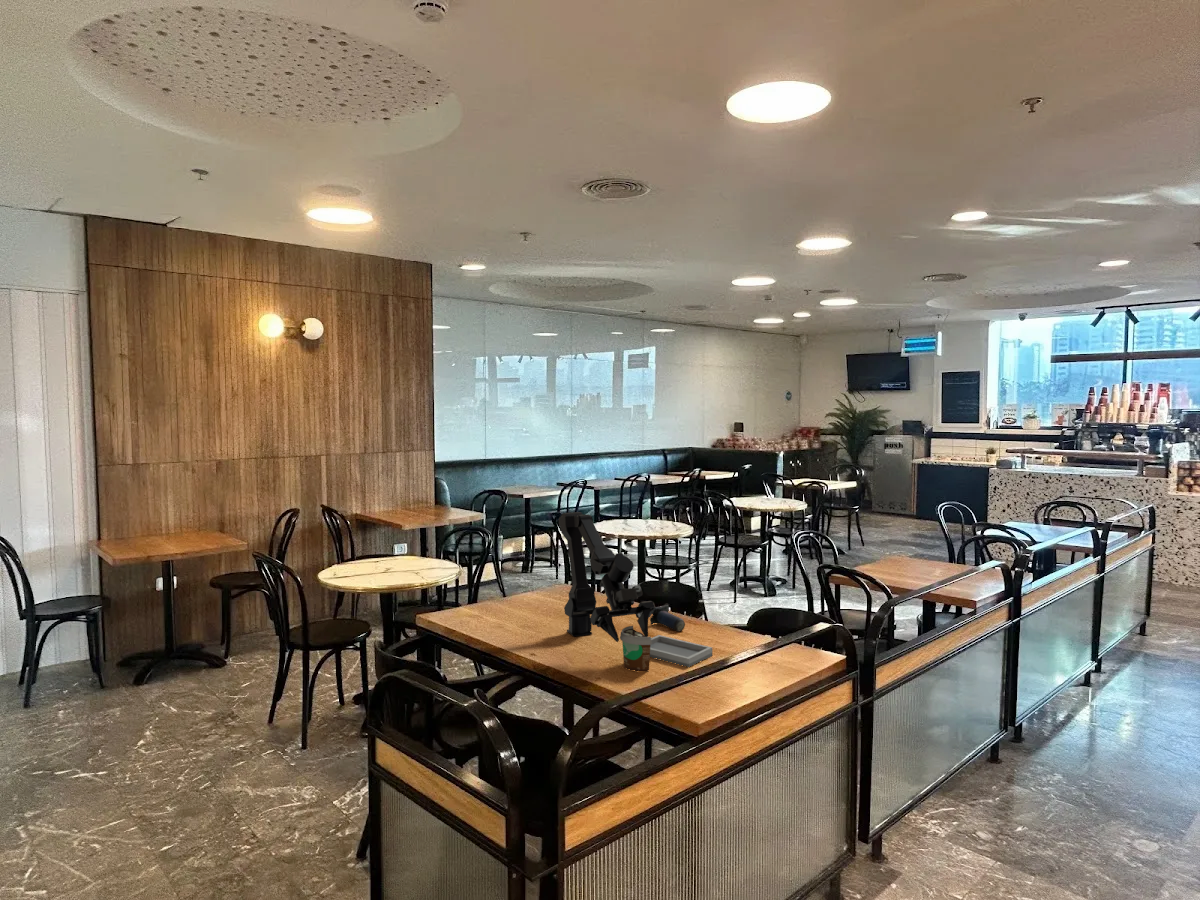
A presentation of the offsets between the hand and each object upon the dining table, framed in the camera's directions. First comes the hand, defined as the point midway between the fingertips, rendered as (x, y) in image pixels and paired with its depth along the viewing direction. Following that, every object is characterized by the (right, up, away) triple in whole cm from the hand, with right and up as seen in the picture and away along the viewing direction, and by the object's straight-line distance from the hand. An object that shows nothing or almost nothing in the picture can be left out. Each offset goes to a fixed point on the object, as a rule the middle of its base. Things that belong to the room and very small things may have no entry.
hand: (632, 639), depth 205 cm
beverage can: (+14, -7, +39) cm, 42 cm away
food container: (0, -8, +1) cm, 8 cm away
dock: (+13, -8, +12) cm, 19 cm away
